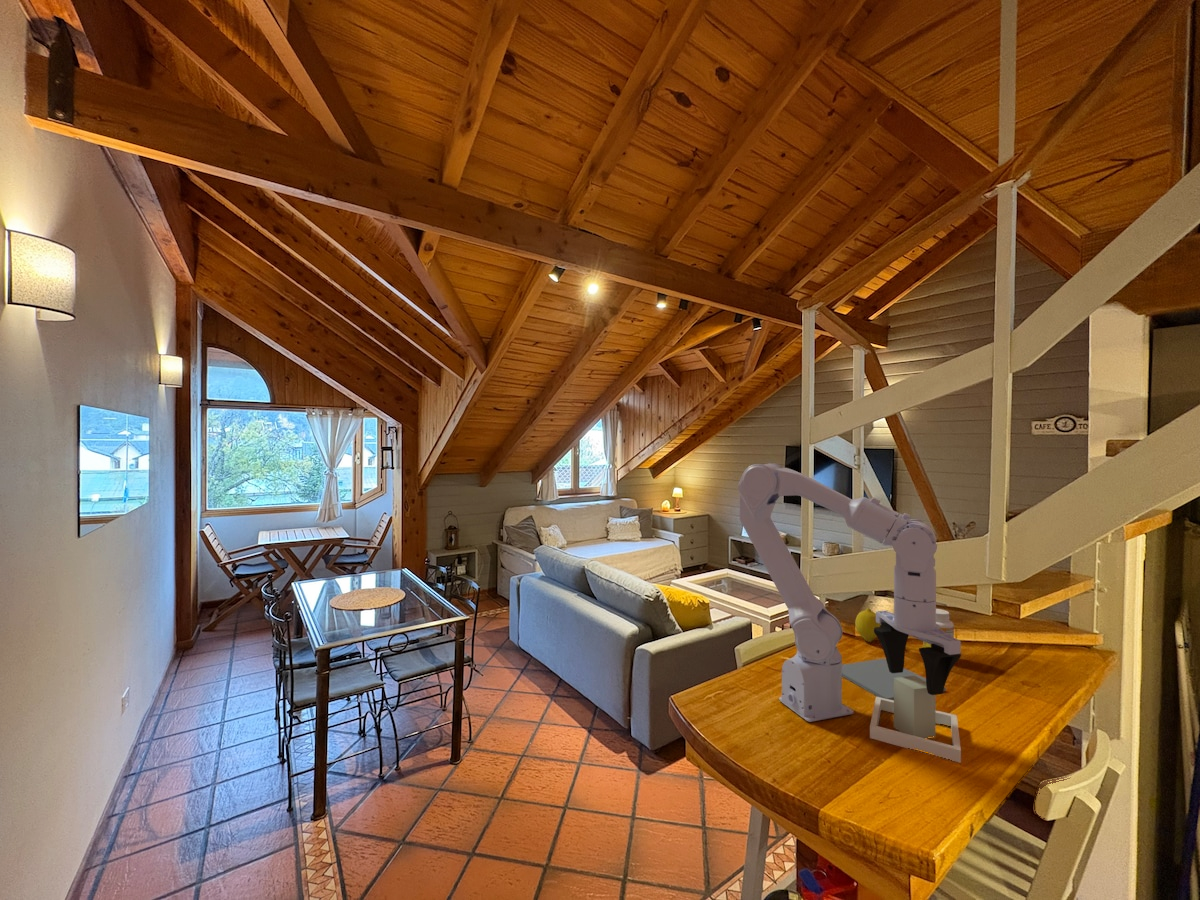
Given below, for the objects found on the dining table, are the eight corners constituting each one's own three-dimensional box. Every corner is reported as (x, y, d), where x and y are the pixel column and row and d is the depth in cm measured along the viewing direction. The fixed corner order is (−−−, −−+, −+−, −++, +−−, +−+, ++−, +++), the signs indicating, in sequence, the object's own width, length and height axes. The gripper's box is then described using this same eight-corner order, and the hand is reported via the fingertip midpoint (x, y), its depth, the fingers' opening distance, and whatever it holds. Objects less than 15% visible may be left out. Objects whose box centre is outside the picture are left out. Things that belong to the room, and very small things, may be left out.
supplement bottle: (916, 654, 112) (917, 608, 112) (935, 651, 114) (936, 606, 114) (940, 664, 107) (940, 616, 107) (960, 661, 108) (960, 613, 108)
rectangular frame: (960, 763, 73) (960, 750, 73) (869, 738, 79) (869, 726, 79) (956, 726, 83) (956, 715, 83) (876, 706, 89) (876, 696, 89)
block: (935, 737, 79) (935, 686, 79) (913, 740, 78) (913, 689, 78) (914, 724, 83) (914, 675, 83) (893, 727, 82) (893, 677, 82)
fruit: (875, 637, 122) (875, 604, 122) (885, 646, 116) (886, 611, 116) (851, 636, 123) (851, 603, 123) (860, 645, 117) (860, 610, 117)
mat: (886, 701, 91) (886, 698, 91) (829, 669, 104) (829, 666, 104) (945, 691, 95) (945, 687, 95) (883, 661, 108) (883, 658, 108)
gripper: (977, 609, 75) (977, 701, 75) (900, 584, 89) (900, 661, 89) (937, 612, 73) (938, 706, 73) (865, 586, 87) (865, 665, 87)
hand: (914, 682), depth 81 cm, fingers open, 7 cm apart
